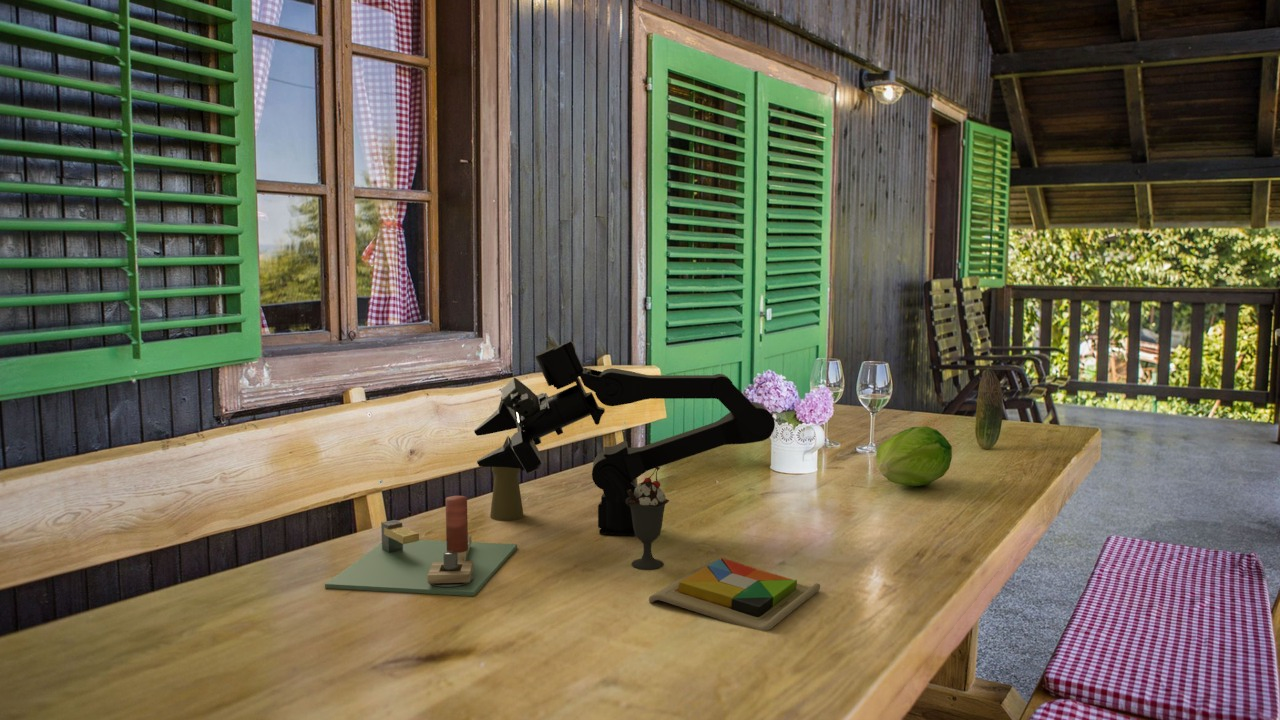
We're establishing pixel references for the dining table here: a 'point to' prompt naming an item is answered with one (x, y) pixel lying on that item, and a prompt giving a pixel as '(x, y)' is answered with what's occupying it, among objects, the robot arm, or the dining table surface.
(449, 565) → the pintle
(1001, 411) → the vegetable
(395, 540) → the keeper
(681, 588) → the wooden puzzle
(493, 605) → the dining table surface
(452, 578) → the latch bar
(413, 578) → the latch board
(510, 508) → the cork
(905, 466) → the green oval lump
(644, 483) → the sundae
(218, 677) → the dining table surface
